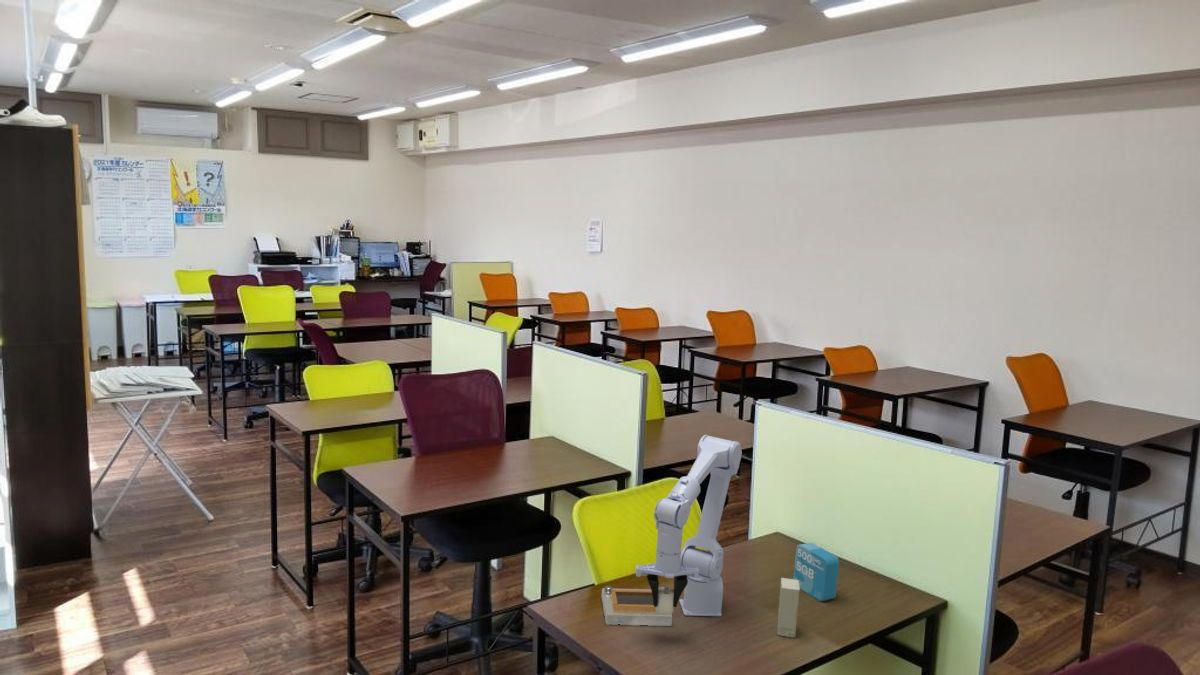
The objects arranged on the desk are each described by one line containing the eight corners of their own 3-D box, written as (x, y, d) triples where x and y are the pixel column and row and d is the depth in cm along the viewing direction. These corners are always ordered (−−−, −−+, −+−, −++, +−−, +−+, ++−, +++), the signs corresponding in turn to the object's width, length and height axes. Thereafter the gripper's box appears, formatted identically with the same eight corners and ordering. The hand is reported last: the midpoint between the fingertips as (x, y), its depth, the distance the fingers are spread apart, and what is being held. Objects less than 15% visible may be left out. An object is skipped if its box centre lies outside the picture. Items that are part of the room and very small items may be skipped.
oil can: (671, 607, 192) (673, 582, 191) (674, 615, 188) (676, 590, 187) (654, 606, 191) (656, 582, 190) (656, 615, 187) (658, 590, 186)
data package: (792, 584, 223) (796, 542, 221) (804, 581, 225) (809, 540, 223) (822, 603, 212) (827, 560, 210) (835, 600, 214) (840, 557, 213)
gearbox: (663, 598, 209) (664, 586, 209) (671, 626, 196) (672, 612, 195) (601, 597, 208) (602, 584, 208) (605, 624, 194) (606, 611, 194)
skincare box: (795, 638, 193) (800, 590, 191) (776, 635, 194) (781, 588, 192) (794, 625, 199) (799, 579, 198) (776, 623, 200) (780, 576, 198)
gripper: (639, 556, 183) (635, 612, 185) (703, 558, 184) (698, 613, 186) (636, 543, 190) (632, 598, 192) (697, 545, 191) (692, 599, 193)
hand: (664, 604), depth 189 cm, fingers closed on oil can, 4 cm apart
